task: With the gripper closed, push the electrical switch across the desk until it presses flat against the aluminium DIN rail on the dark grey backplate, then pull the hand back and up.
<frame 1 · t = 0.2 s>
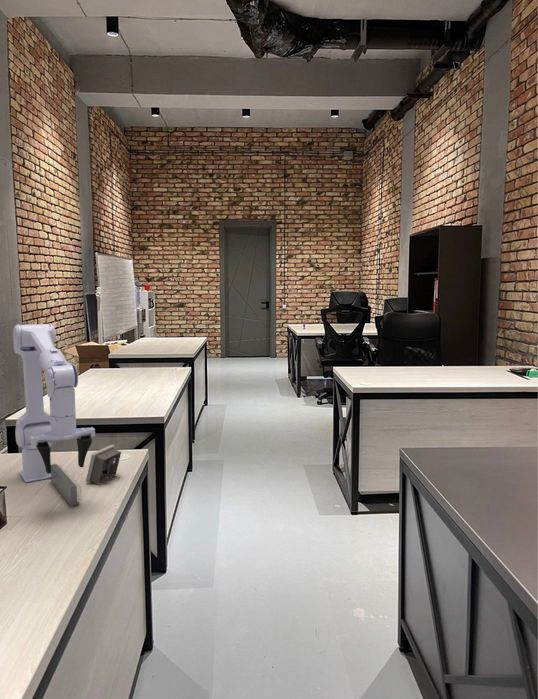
hand: (65, 469, 130), 10 cm above the table, tool pointing down, fingers open, 7 cm apart
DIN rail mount: (63, 493, 140), on the table
electrical switch: (104, 480, 151), on the table
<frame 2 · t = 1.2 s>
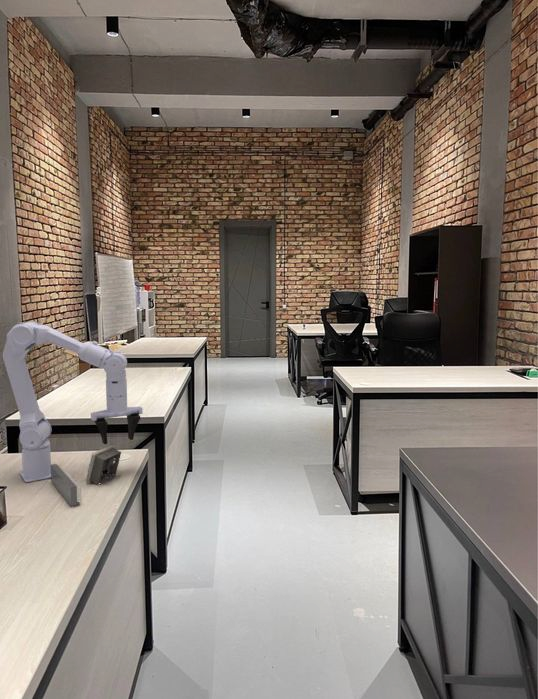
hand: (118, 441, 154), 10 cm above the table, tool pointing down, fingers open, 7 cm apart
nothing on the table moved.
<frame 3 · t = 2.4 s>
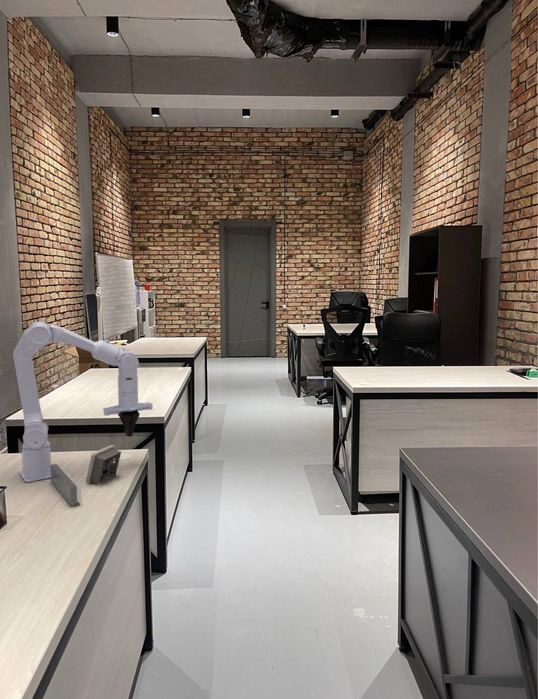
hand: (129, 435, 161), 9 cm above the table, tool pointing down, fingers closed
nothing on the table moved.
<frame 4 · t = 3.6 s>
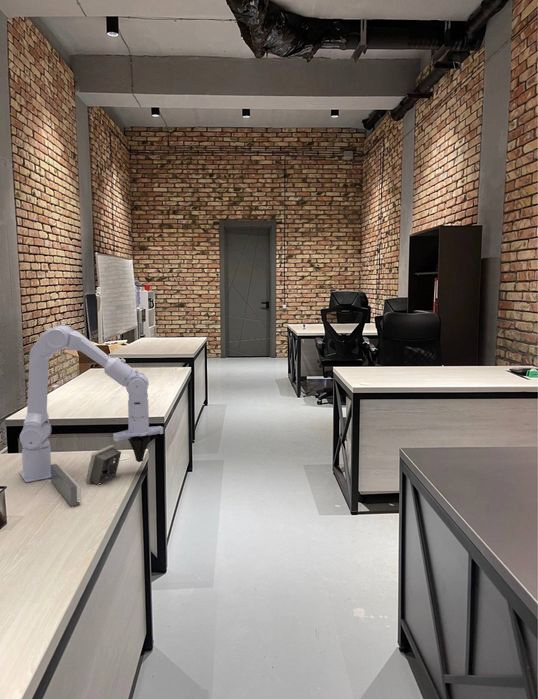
hand: (139, 460, 156), 3 cm above the table, tool pointing down, fingers closed
nothing on the table moved.
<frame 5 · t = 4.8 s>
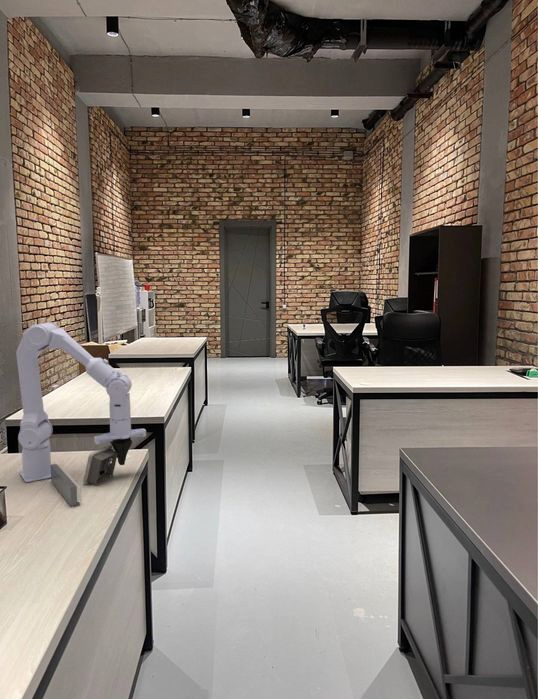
hand: (121, 464, 153), 3 cm above the table, tool pointing down, fingers closed
electrical switch: (101, 480, 150), on the table, touching gripper
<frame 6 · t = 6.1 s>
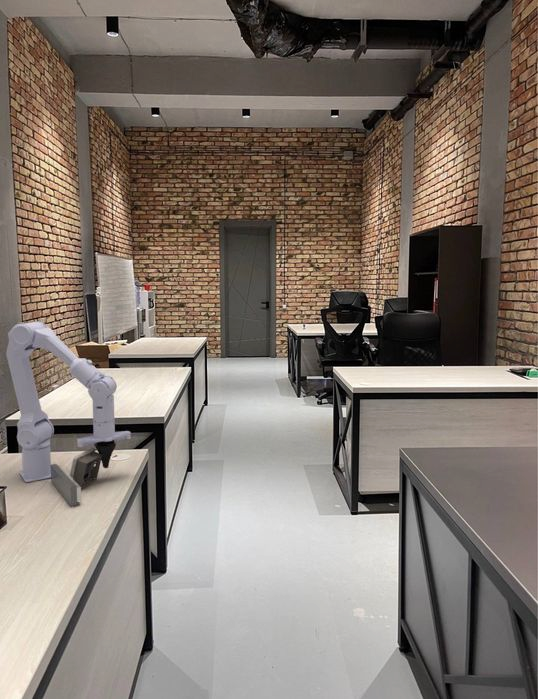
hand: (105, 467, 150), 3 cm above the table, tool pointing down, fingers closed
electrical switch: (86, 484, 147), on the table, touching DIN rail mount, gripper
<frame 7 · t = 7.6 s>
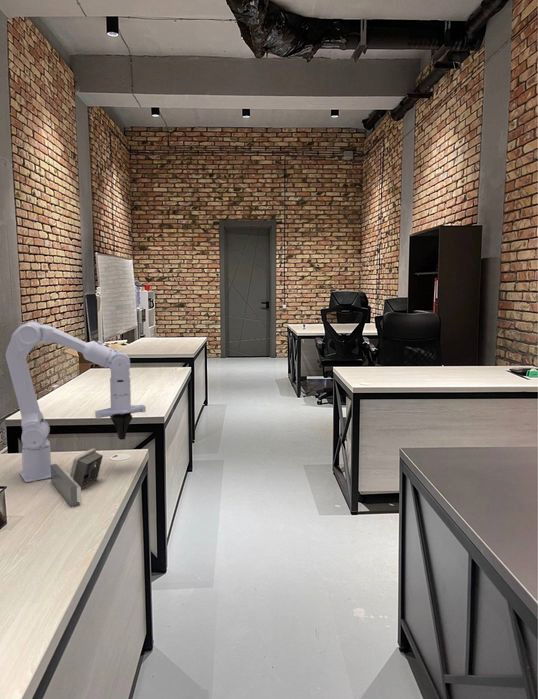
hand: (121, 438, 158), 9 cm above the table, tool pointing down, fingers closed
electrical switch: (86, 484, 147), on the table
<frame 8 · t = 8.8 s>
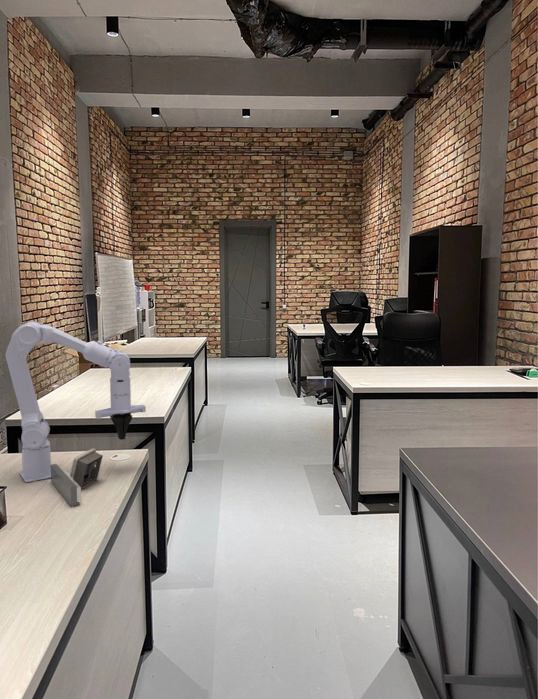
hand: (121, 438, 158), 9 cm above the table, tool pointing down, fingers closed
nothing on the table moved.
at the end: electrical switch 0.8 cm from the target spot, on the table; electrical switch tilted 2° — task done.
